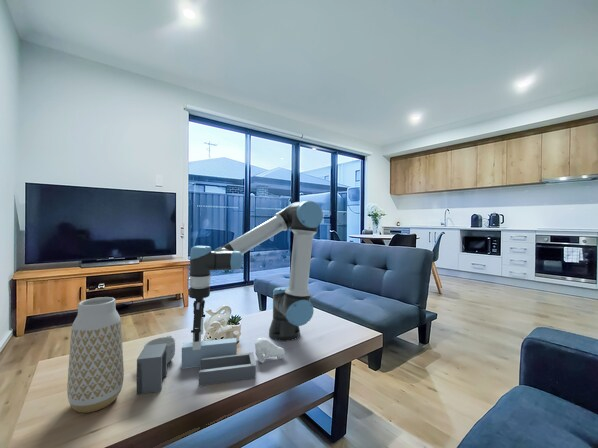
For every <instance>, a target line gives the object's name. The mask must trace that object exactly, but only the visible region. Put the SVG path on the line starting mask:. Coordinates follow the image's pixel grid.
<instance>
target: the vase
mask: <svg viewBox="0 0 598 448" xmlns="http://www.w3.org/2000/svg"><path fill="white" fill-rule="evenodd" d="M122 329H123V328H122V318H121V316H120V314H119V312H118V310H117V309H116V298H114V297H113V296H112V297H111V296H110V297H109V296H104V297H103V296H102V297H101V296H100V297H94V298H89V299H84V300H81V301H80V302H78V305H77V315H76V317H75V319H74V321H73V322H72V324H71V332H70V340H69V341H70V342H69V343H70V344H69V356H68V357H69V359H68V370H67V371H68V372H67V383H66V385H67V386H66V387H67V390H66V392H67V394H66V395H67V400H68V403H69V405H70V407H71V408H72V409H73V410H74V411H76V412H77V413H84V414H85V413H93V412H96V411H99V410H102V409H104V408H106V407H107V406H109V405H111V404H112V403H113V402H114V401H115V400H116V399H117V397H118V396H119V395H120V393H121V391H122V389H123V385H124V378H125V377H124V376H125V373H124V371H125V368H124V366H125V365H124V350H123V348H124V347H123V333H122V332H123V331H122Z"/></svg>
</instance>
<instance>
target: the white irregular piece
mask: <svg viewBox="0 0 598 448" xmlns="http://www.w3.org/2000/svg"><path fill="white" fill-rule="evenodd" d="M254 345H255V346H254V347H255V356H256V358H257V360H258V362H259V363H261V364H263V363H264V360H267V359H269V358H272V357H276V359H277V360H280V359H282V358H283V356H285V350H284V348H283V347H280V346H277V345H276V344H275V343H274V342H273V341H272V340H270V339H269V338H267V337H259V338H257V339H256V340H255V342H254Z"/></svg>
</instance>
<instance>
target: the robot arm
mask: <svg viewBox="0 0 598 448" xmlns="http://www.w3.org/2000/svg"><path fill="white" fill-rule="evenodd" d="M323 218H324V212H323V210H322V208H321V207H320V205H319V203H317V202H315V201H312V200H303V201H295V202H292V203H291V204H289V205H288V206H286V207H285V208H283V209H281V210H280V211H278V212H276V213H274V216H273V217H272V218H270V219H268V220H266V221H265V222H263V223H261V224H260V225H257V226H256V227H254V228H251V230H249V231H247V232H245V233H244V234H242V235H241V236H238V237H236V238H235V239H233V240H231V241H230V242H228V243H226V244H224V245H223V246H219V247H217V248H215V249H214V250H212V247H211V246H209V245H194V246H192V247H191V248H190V255H189V258H190V259H189V277H188V278H187V280H188V281H189V286H190V287H189V289H188V296H189V298H190V299H195V300H194V301H193V312H192V313H193V322H192V323H193V326H192V330H190V333H192V342H193V349H192V350H200V349H201V341H202V335H204V319H205V317H206V314H205V312H204V311H205V305H206V300H204V299H206V298H208V297H210V295H211V287H210V285H211V272H212V271H234V270H240V269H242V266H243V254H246V253H247V252H248V251H250V250H252V249H254V248H255V247H257V246H259V245H260V244H262V243H263V242H265V241H267V240H269V239H270V238H273V236H276V235H278V234H279V233H280V232H282V231H284V232H285V231H286V232H287V231H288V230H291V232H292V233H293V242H292V249H291V250H292V251H291V261H290V271H289V278H288V279H289V282H288V286H280V287H279V286H278V287H275V288H274V289H273V292H272V320H271V323H270V326H269V329H268V336H269V338H271V339H272V340H275V341H280V342H281V341H282V342H283V341H284V342H286V341H287V340H289V341H293V340H292V339H294V340H296V339H298V338H299V337H300V336H301V329H300V327H301V326H304V325H307V324H308V322H310V321H311V319H312V318H313V315H314V306H313V304H312V303H311V297H312V296H311V295H312V294H311V293H312V292H310V290H309V281H310V269H311V262H312V261H311V260H312V249H313V240H314V236H315V235H316V234H317V233H318V226H320V224H321V223H322V221H323ZM299 335H300V336H299ZM298 336H299V337H298ZM297 337H298V338H297ZM295 338H296V339H295Z"/></svg>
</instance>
